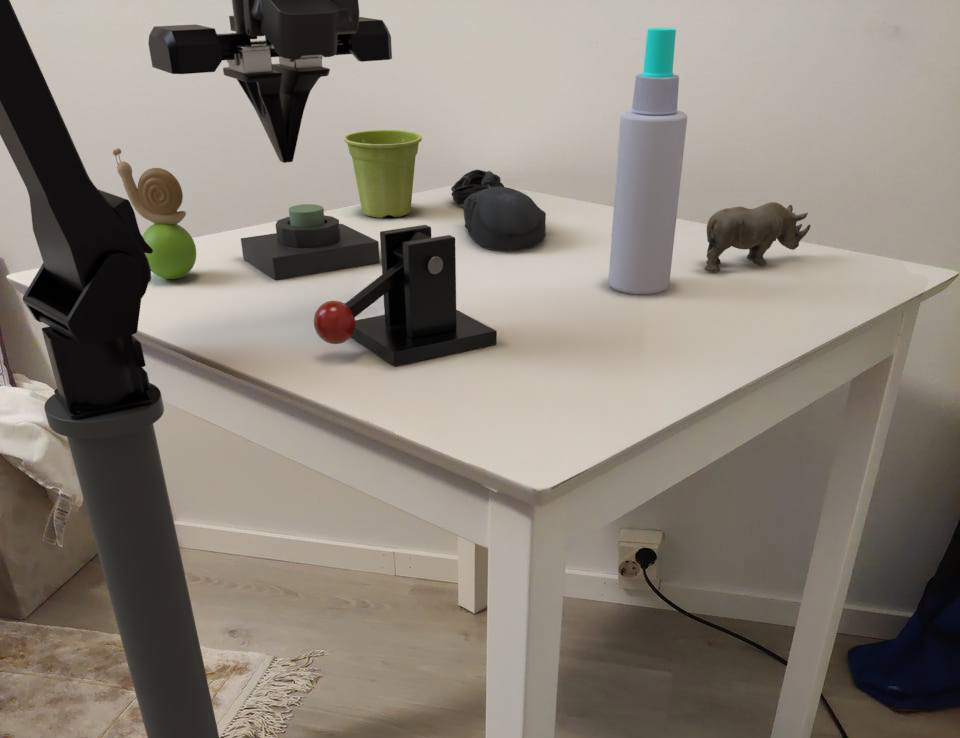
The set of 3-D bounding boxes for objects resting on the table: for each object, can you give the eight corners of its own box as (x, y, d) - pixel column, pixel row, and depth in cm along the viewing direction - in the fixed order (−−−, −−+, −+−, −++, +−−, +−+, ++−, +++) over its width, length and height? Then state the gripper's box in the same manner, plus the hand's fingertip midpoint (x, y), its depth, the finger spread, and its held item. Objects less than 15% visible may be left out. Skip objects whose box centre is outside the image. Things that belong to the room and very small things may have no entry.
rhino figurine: (818, 260, 106) (830, 200, 103) (712, 275, 102) (720, 213, 98) (794, 251, 109) (804, 192, 106) (690, 265, 105) (697, 205, 101)
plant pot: (438, 210, 125) (436, 134, 120) (394, 225, 119) (390, 146, 113) (379, 201, 129) (375, 127, 124) (334, 215, 123) (327, 138, 117)
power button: (298, 231, 102) (297, 213, 101) (285, 224, 105) (283, 206, 104) (330, 226, 104) (328, 209, 103) (316, 219, 106) (314, 202, 105)
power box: (275, 280, 101) (270, 239, 98) (243, 259, 107) (237, 220, 104) (379, 262, 106) (377, 223, 103) (343, 243, 112) (340, 206, 110)
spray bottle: (626, 274, 102) (646, 25, 89) (679, 284, 99) (708, 28, 86) (597, 288, 98) (614, 29, 85) (651, 299, 95) (677, 33, 82)
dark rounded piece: (474, 255, 108) (474, 202, 105) (440, 191, 134) (439, 146, 130) (559, 252, 109) (561, 199, 106) (509, 188, 135) (510, 144, 132)
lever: (337, 357, 81) (316, 324, 78) (320, 345, 83) (299, 312, 81) (449, 269, 82) (432, 233, 80) (429, 259, 85) (412, 224, 82)
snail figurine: (149, 269, 104) (125, 143, 97) (208, 271, 103) (187, 145, 96) (128, 284, 99) (100, 154, 92) (188, 286, 99) (166, 155, 92)
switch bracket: (394, 366, 81) (388, 255, 76) (347, 335, 87) (338, 230, 82) (496, 344, 85) (497, 237, 80) (444, 315, 91) (442, 215, 86)
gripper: (175, -60, 66) (213, 192, 75) (420, -62, 73) (427, 166, 83) (128, -62, 73) (167, 167, 82) (354, -64, 81) (368, 145, 90)
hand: (286, 161), depth 84 cm, fingers closed
